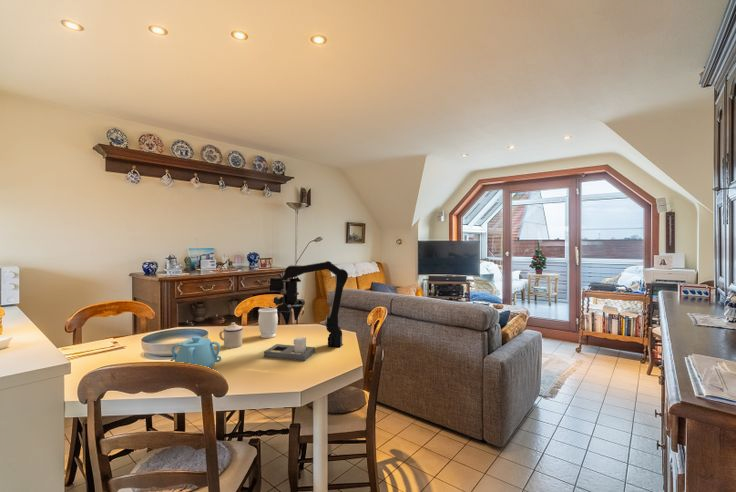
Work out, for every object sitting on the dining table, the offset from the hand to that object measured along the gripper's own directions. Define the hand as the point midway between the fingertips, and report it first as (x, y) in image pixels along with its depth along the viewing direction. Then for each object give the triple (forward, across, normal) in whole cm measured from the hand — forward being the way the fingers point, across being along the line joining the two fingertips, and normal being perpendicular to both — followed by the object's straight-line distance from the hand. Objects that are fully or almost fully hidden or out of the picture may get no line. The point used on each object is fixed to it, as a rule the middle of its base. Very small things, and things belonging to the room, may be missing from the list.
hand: (291, 322), depth 170 cm
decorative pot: (+13, +36, -25) cm, 46 cm away
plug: (+13, +10, +9) cm, 19 cm away
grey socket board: (+13, +10, +4) cm, 17 cm away
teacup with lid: (+13, +5, -32) cm, 35 cm away
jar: (+13, -16, -23) cm, 30 cm away
